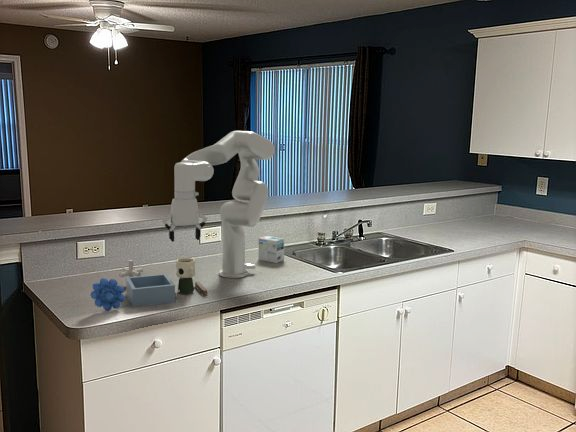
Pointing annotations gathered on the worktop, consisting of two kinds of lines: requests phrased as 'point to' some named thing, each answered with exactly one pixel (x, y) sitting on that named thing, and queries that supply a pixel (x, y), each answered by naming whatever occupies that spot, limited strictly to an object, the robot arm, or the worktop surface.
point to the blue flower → (107, 294)
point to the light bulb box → (271, 249)
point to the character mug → (185, 274)
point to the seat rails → (199, 288)
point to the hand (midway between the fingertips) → (185, 240)
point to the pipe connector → (130, 271)
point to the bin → (150, 290)
